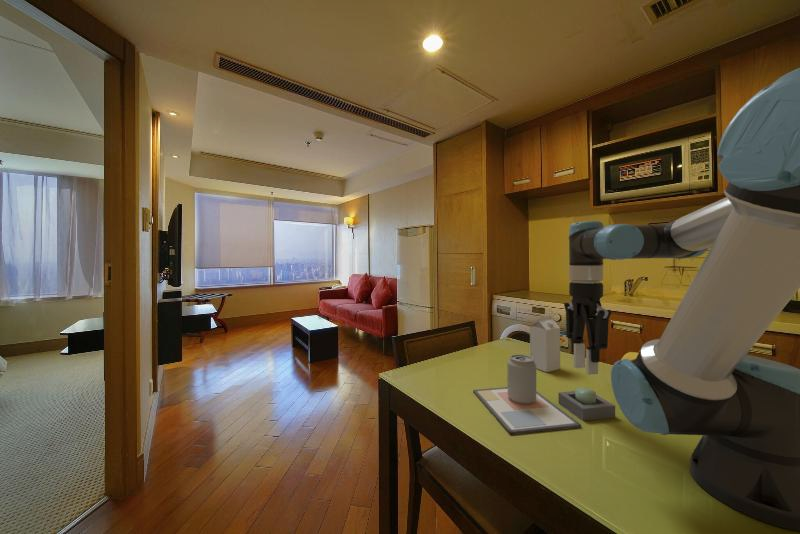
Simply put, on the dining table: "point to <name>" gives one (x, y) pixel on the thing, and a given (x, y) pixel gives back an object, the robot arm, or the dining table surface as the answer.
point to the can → (521, 379)
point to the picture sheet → (524, 412)
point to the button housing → (586, 407)
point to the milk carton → (545, 344)
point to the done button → (585, 396)
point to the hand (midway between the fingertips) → (585, 370)
